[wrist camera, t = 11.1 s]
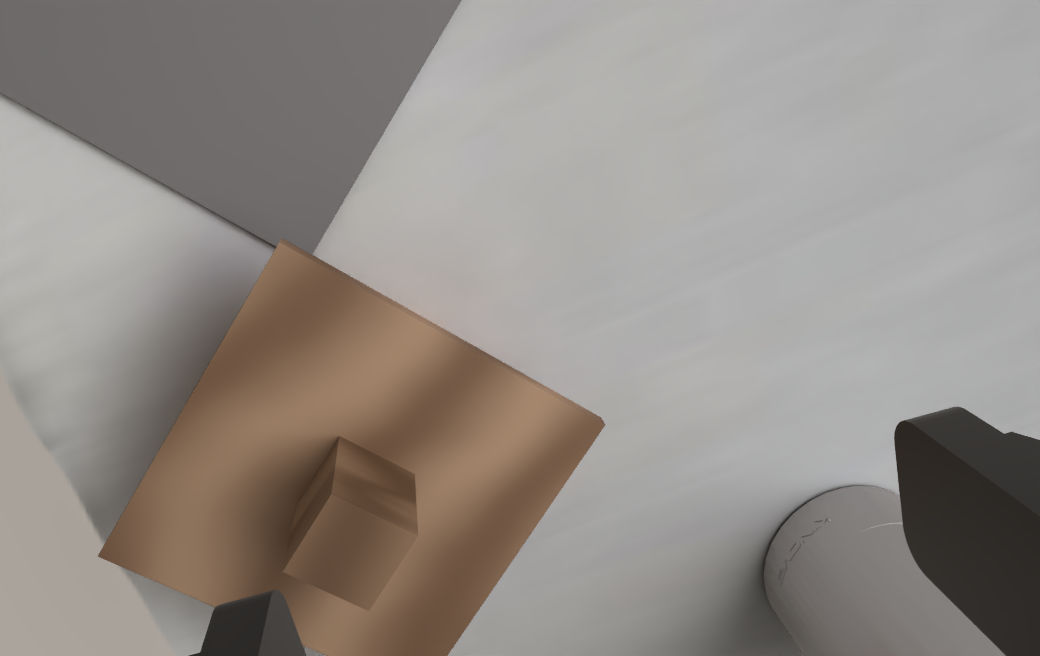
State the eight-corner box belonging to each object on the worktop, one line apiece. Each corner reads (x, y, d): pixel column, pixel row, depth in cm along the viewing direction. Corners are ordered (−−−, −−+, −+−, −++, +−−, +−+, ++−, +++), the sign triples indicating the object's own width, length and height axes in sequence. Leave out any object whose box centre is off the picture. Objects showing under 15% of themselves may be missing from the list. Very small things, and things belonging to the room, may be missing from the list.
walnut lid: (601, 417, 39) (635, 479, 33) (419, 683, 41) (423, 781, 36) (281, 237, 35) (261, 274, 29) (103, 546, 37) (54, 632, 32)
